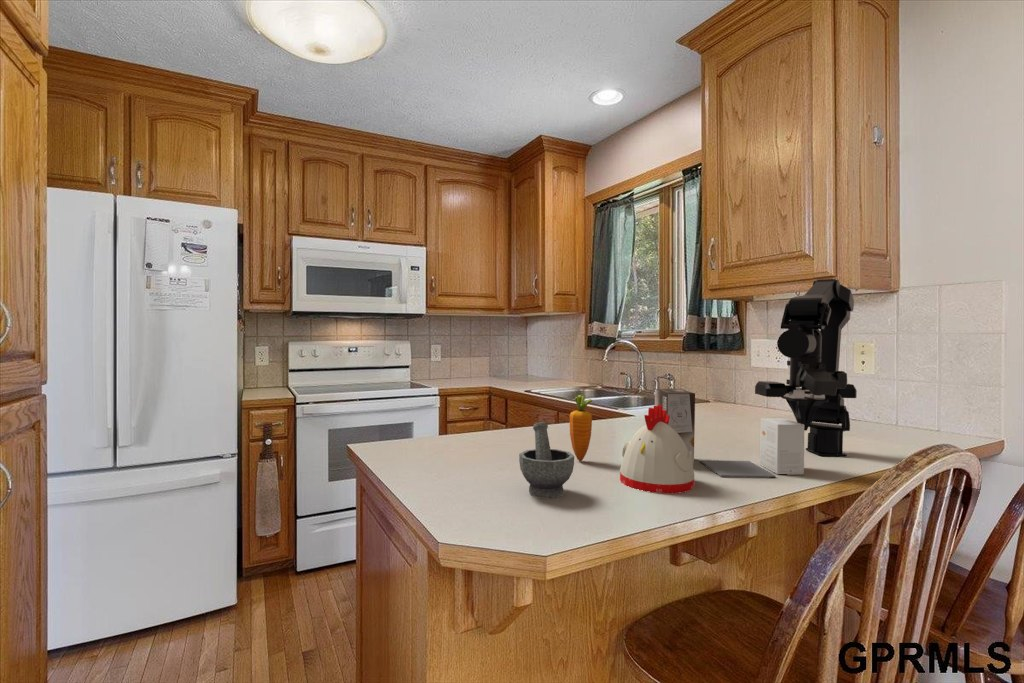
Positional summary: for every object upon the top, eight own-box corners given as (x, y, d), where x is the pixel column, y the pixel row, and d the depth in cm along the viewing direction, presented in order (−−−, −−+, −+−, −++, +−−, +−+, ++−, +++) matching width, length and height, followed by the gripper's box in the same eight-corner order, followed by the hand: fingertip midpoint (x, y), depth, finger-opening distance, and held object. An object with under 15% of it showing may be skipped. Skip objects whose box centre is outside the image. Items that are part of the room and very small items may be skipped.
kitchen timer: (606, 481, 101) (607, 404, 101) (643, 469, 111) (644, 398, 111) (672, 498, 91) (674, 413, 91) (706, 483, 101) (708, 406, 101)
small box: (804, 475, 107) (805, 424, 107) (776, 475, 107) (778, 424, 107) (784, 465, 115) (785, 417, 115) (759, 465, 115) (760, 417, 115)
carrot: (579, 457, 120) (580, 392, 120) (596, 462, 116) (597, 394, 116) (564, 460, 117) (565, 394, 116) (580, 465, 113) (581, 396, 113)
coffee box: (695, 467, 113) (696, 393, 112) (666, 467, 112) (667, 392, 112) (679, 456, 122) (680, 388, 122) (652, 456, 122) (653, 388, 121)
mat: (749, 462, 117) (749, 460, 117) (775, 477, 105) (775, 475, 105) (699, 462, 117) (699, 460, 117) (720, 477, 105) (720, 475, 105)
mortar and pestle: (579, 500, 90) (580, 431, 89) (526, 503, 88) (526, 432, 88) (561, 481, 101) (562, 419, 101) (514, 483, 99) (514, 420, 99)
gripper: (780, 358, 102) (778, 437, 103) (876, 359, 102) (873, 438, 103) (754, 355, 113) (752, 426, 114) (840, 356, 113) (838, 428, 114)
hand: (803, 430), depth 111 cm, fingers closed
